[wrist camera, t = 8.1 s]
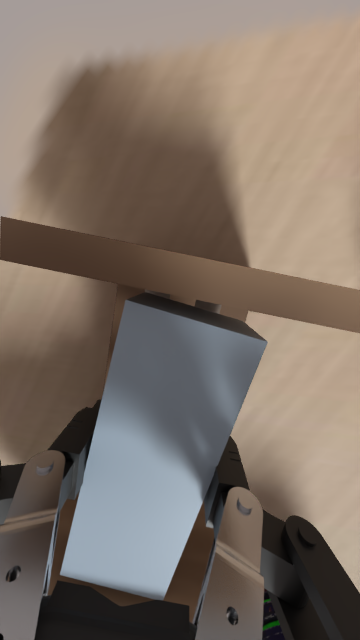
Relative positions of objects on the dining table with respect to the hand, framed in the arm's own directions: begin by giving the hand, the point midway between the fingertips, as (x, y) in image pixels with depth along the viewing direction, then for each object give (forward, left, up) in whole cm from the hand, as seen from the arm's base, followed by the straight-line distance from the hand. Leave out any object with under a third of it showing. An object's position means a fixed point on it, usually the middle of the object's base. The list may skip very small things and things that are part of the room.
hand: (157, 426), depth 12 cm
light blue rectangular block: (0, 0, -1) cm, 1 cm away
